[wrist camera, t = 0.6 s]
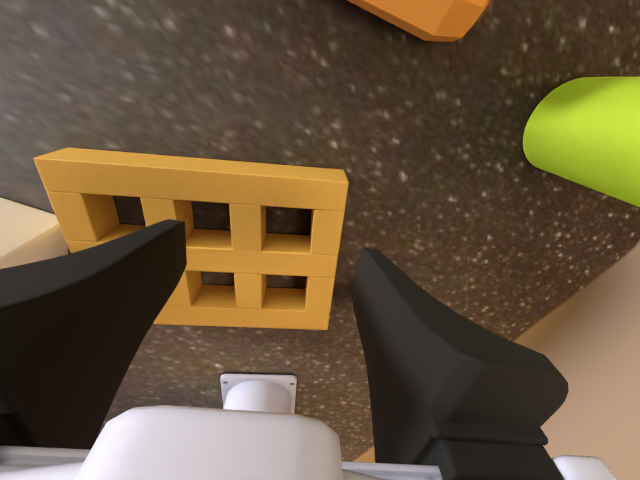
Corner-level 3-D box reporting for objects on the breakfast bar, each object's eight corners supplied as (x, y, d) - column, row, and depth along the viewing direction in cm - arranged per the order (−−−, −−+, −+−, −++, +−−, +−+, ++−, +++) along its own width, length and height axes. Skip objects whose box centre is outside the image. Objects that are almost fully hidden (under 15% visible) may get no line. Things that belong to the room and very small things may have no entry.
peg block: (325, 306, 26) (327, 330, 24) (117, 298, 25) (97, 322, 22) (343, 169, 20) (348, 181, 18) (68, 147, 19) (32, 157, 16)
